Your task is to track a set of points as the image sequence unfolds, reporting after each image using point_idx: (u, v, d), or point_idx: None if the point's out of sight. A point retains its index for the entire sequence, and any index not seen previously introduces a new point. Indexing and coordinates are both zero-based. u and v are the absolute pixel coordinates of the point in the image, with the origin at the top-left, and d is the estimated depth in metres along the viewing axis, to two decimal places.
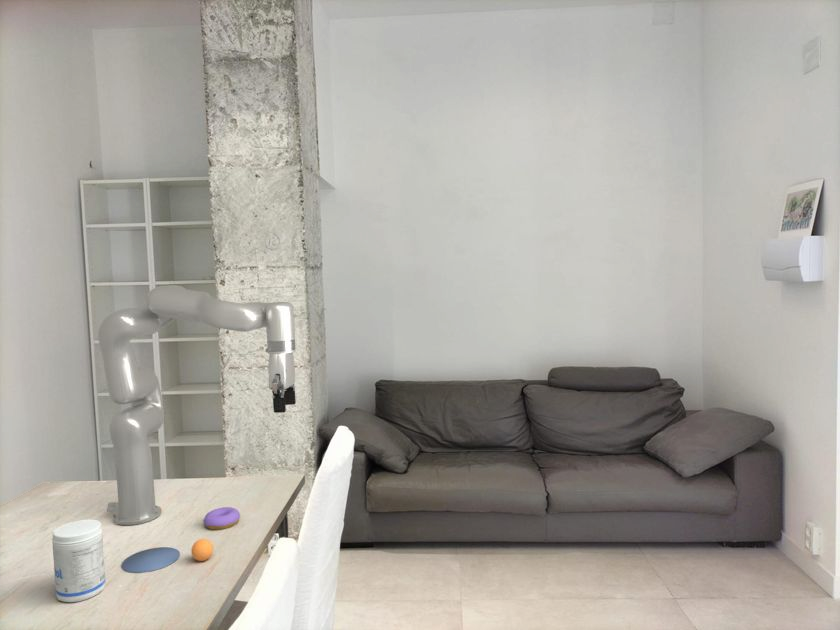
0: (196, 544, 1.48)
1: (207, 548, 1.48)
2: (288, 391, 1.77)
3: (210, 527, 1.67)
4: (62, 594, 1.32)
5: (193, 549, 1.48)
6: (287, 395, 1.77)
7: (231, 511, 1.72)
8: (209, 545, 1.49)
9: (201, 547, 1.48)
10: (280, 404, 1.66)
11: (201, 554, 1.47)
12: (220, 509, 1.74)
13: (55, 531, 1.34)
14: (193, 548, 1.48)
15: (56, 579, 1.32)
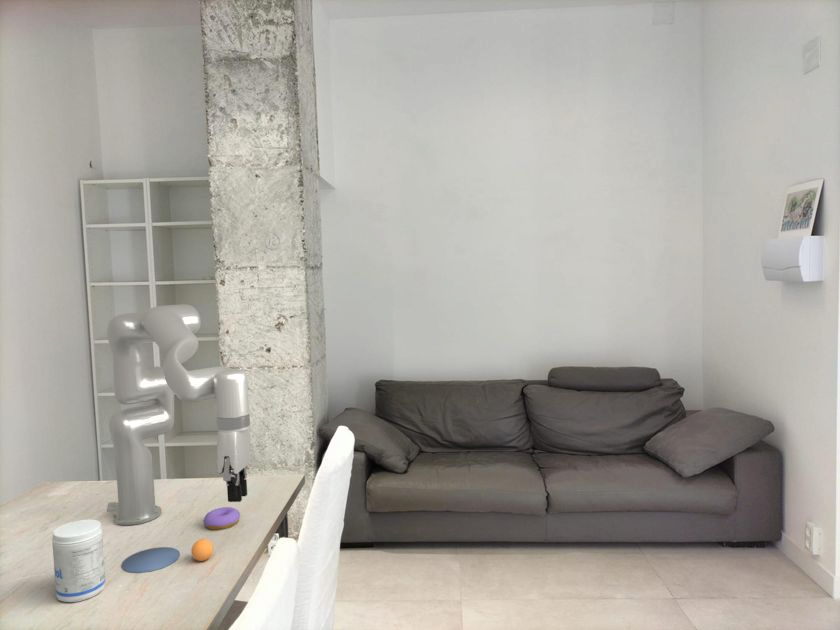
0: (196, 544, 1.48)
1: (207, 548, 1.48)
2: (238, 480, 1.49)
3: (210, 527, 1.67)
4: (62, 594, 1.32)
5: (193, 549, 1.48)
6: None
7: (231, 511, 1.72)
8: (209, 545, 1.49)
9: (201, 547, 1.48)
10: (235, 493, 1.45)
11: (201, 554, 1.47)
12: (220, 509, 1.74)
13: (55, 531, 1.34)
14: (193, 548, 1.48)
15: (56, 579, 1.32)
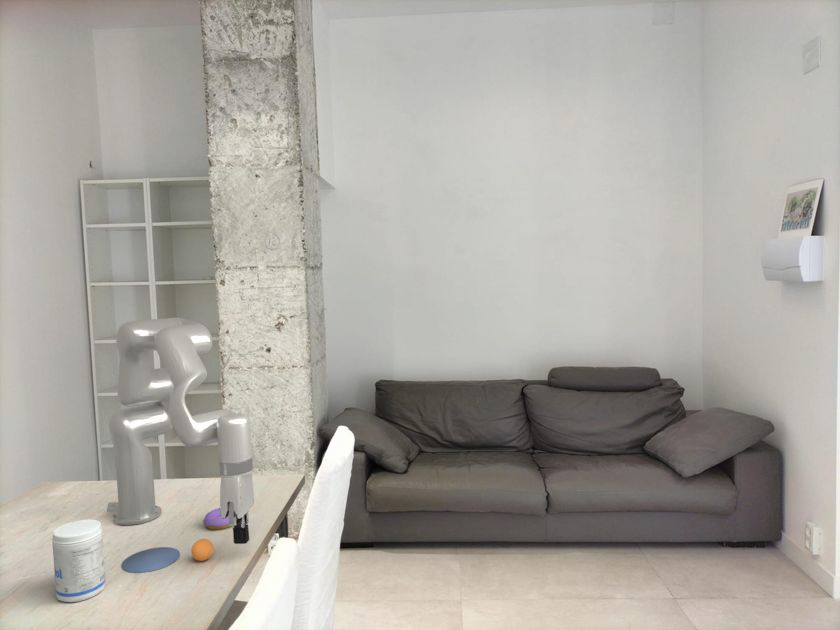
0: (196, 544, 1.48)
1: (207, 548, 1.48)
2: None
3: (210, 527, 1.67)
4: (62, 594, 1.32)
5: (193, 549, 1.48)
6: None
7: None
8: (209, 545, 1.49)
9: (201, 547, 1.48)
10: (241, 535, 1.47)
11: (201, 554, 1.47)
12: (220, 509, 1.74)
13: (55, 531, 1.34)
14: (193, 548, 1.48)
15: (56, 579, 1.32)
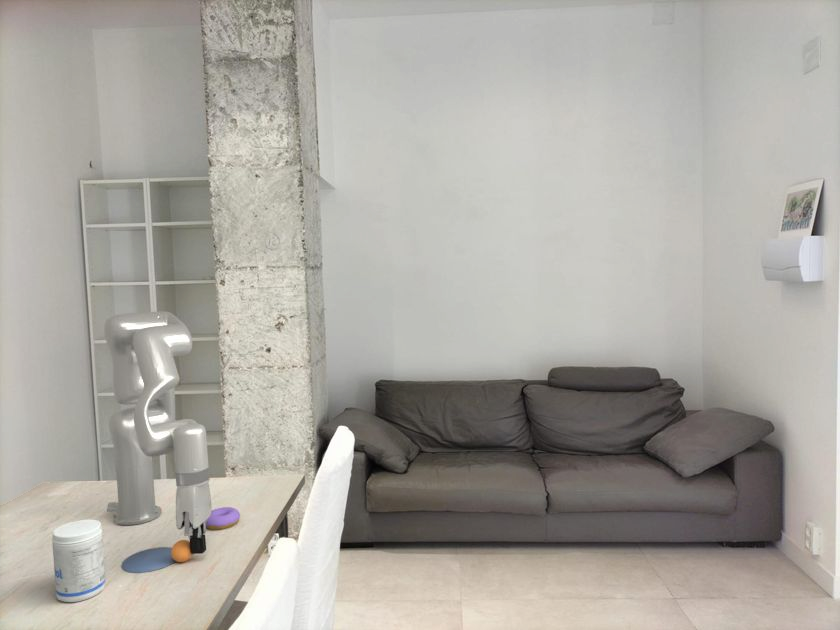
0: (171, 554, 1.48)
1: (178, 546, 1.48)
2: None
3: (210, 527, 1.67)
4: (62, 594, 1.32)
5: (173, 558, 1.48)
6: None
7: (231, 511, 1.72)
8: (178, 543, 1.49)
9: (173, 550, 1.48)
10: (197, 545, 1.48)
11: (179, 554, 1.47)
12: (220, 509, 1.74)
13: (55, 531, 1.34)
14: (173, 558, 1.48)
15: (56, 579, 1.32)
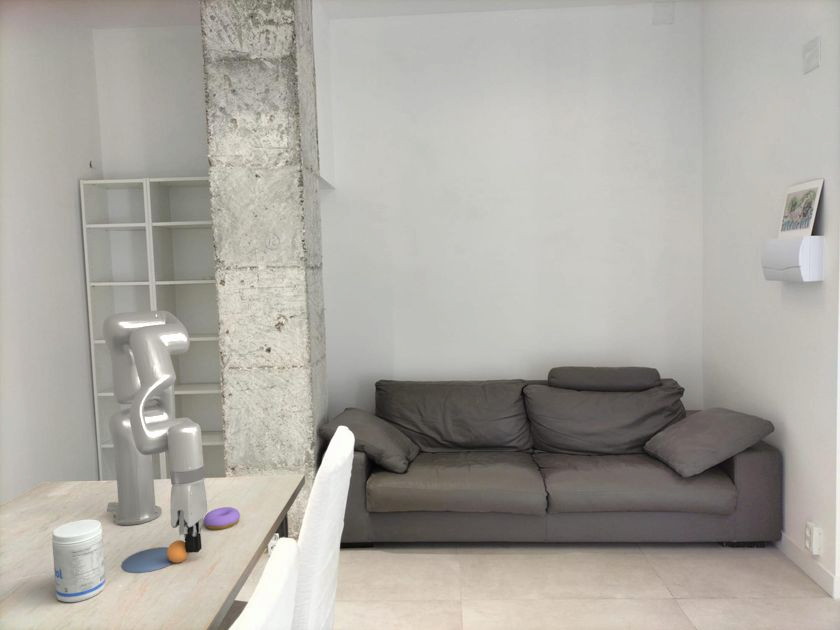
0: None
1: (172, 547, 1.48)
2: None
3: (210, 527, 1.67)
4: (62, 594, 1.32)
5: (170, 559, 1.48)
6: None
7: (231, 511, 1.72)
8: (172, 544, 1.49)
9: (168, 552, 1.48)
10: (192, 543, 1.47)
11: (174, 554, 1.47)
12: (220, 509, 1.74)
13: (55, 531, 1.34)
14: (170, 560, 1.48)
15: (56, 579, 1.32)
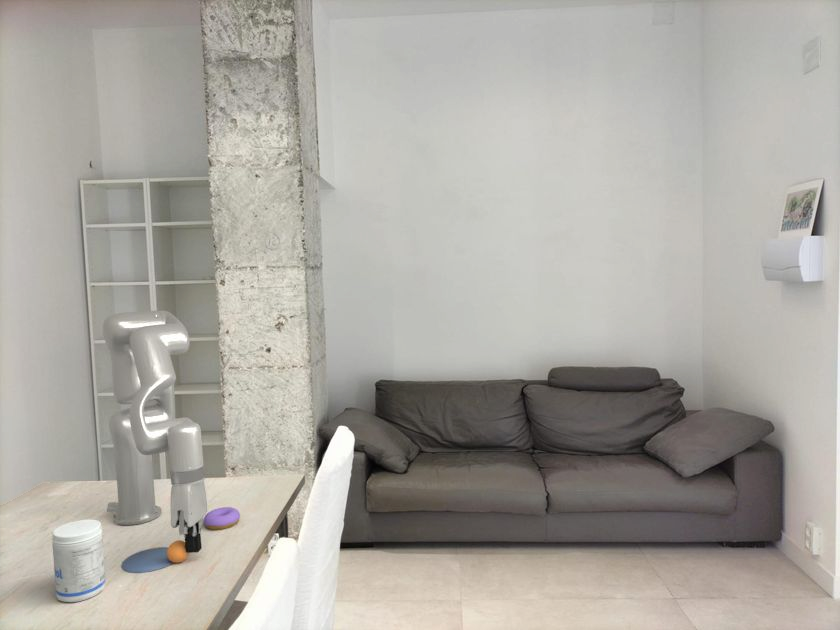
0: None
1: (172, 547, 1.48)
2: None
3: (210, 527, 1.67)
4: (62, 594, 1.32)
5: (170, 560, 1.48)
6: None
7: (231, 511, 1.72)
8: (172, 544, 1.49)
9: (168, 552, 1.48)
10: (192, 543, 1.47)
11: (174, 554, 1.47)
12: (220, 509, 1.74)
13: (55, 531, 1.34)
14: (170, 560, 1.48)
15: (56, 579, 1.32)
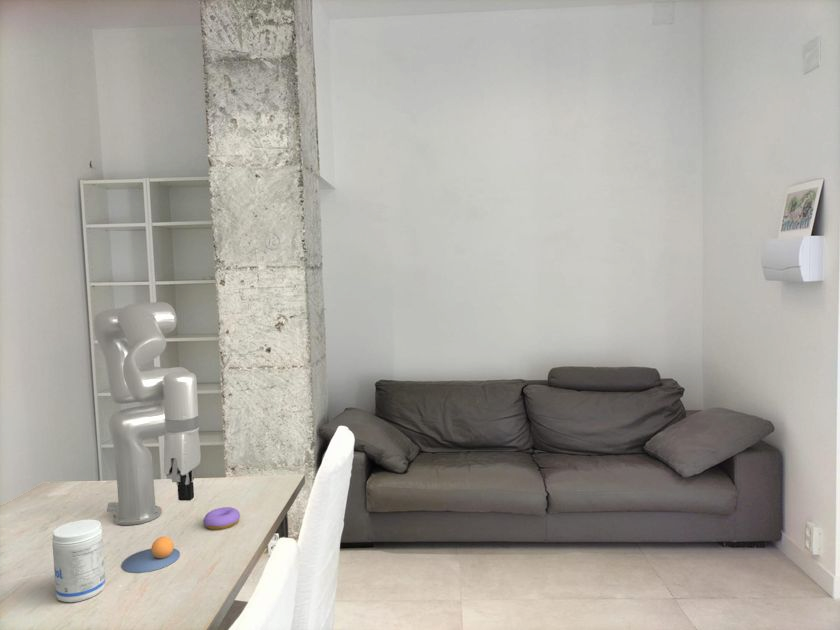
0: (159, 554, 1.50)
1: None
2: None
3: (210, 527, 1.67)
4: (62, 594, 1.32)
5: (159, 550, 1.49)
6: None
7: (231, 511, 1.72)
8: None
9: (153, 554, 1.50)
10: (185, 492, 1.48)
11: (152, 547, 1.50)
12: (220, 509, 1.74)
13: (55, 531, 1.34)
14: (160, 550, 1.50)
15: (56, 579, 1.32)
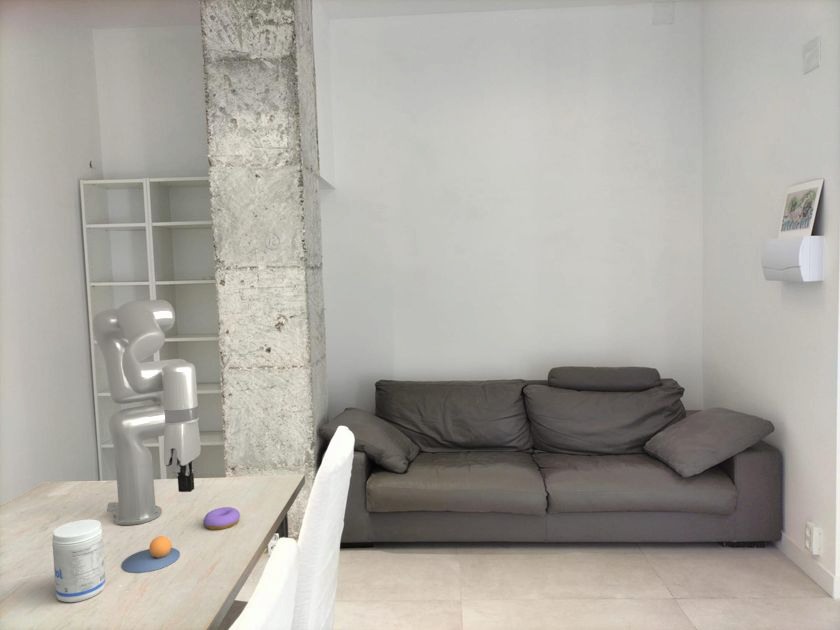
0: (157, 552, 1.50)
1: None
2: None
3: (210, 527, 1.67)
4: (62, 594, 1.32)
5: (156, 548, 1.50)
6: None
7: (231, 511, 1.72)
8: None
9: (152, 553, 1.50)
10: (185, 483, 1.47)
11: (149, 547, 1.51)
12: (220, 509, 1.74)
13: (55, 531, 1.34)
14: (157, 548, 1.50)
15: (56, 579, 1.32)
